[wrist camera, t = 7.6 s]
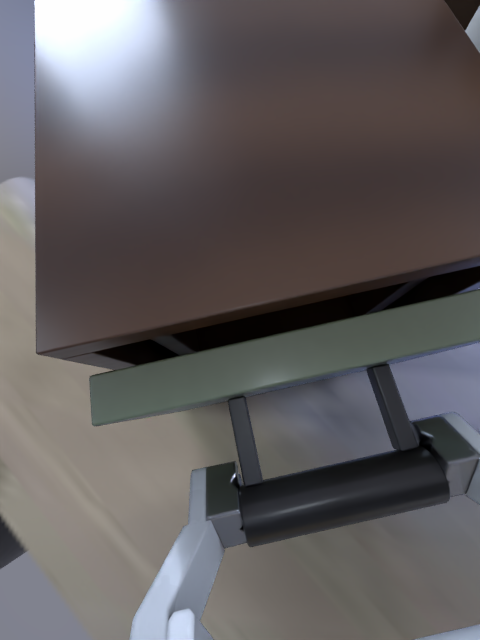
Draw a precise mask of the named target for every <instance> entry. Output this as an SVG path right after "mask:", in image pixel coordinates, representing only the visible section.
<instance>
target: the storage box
mask: <svg viewBox="0 0 480 640" xmlns="http://www.w3.org/2000/svg"><path fill="white" fill-rule="evenodd" d="M34 41H35V42H34V43H35V44H34V47H35V48H34V50H35V52H34V56H35V252H36V353H37V354H38V355H43V356H48V357H53V358H58V359H62V360H67V361H72V362H77V363H82V364H87V365H92V366H97V367H102V368H107V369H112V370H118V369H123V368H127V367H131V366H136V365H140V364H145V363H149V362H154V361H158V360H163V359H167V358H172V357H176V356H180V355H178V354H176V353H174V352H173V351H171V350H169V349H167V348H165V347H164V346H162V345H160V344H158V343H156V342H155V341H153V340H151V339H153V338H158V337H162V336H167V335H171V334H176V333H180V332H184V331H189V330H193V329H198V328H202V327H207V326H211V325H216V324H220V323H225V322H229V321H234V320H238V319H243V318H247V317H252V316H256V315H261V314H265V313H270V312H274V311H279V310H283V309H288V308H292V307H297V306H301V305H306V304H310V303H315V302H319V301H324V300H328V299H333V298H337V297H342V296H346V295H351V294H355V293H360V292H364V291H369V290H373V289H378V288H382V287H387V286H391V285H396V284H400V283H405V282H409V281H414V280H418V279H423V278H427V277H429V278H427V279H426V280H424V281H423V282H421V283H420V284H419V285H417V286H416V287H414V288H413V289H411V290H410V291H409V292H407V293H406V294H404V295H403V296H401V297H400V298H399V299H397V300H396V301H394V302H393V303H391V304H390V305H388V306H387V307H386V308H384V309H383V310H387V309H392V308H396V307H401V306H405V305H410V304H414V303H418V302H423V301H427V300H432V299H436V298H441V297H445V296H450V295H454V294H459V293H463V292H468V291H472V290H476V289H478V288H480V53H479V51H478V50H477V48H476V47H475V45H474V44H473V42H472V41H471V39H470V38H469V36H468V35H467V33H466V32H465V30H464V29H463V27H462V26H461V24H460V23H459V21H458V20H457V18H456V17H455V16H454V14H453V13H452V11H451V10H450V8H449V7H448V5H447V4H446V2H445V1H444V0H34ZM383 310H381V311H383Z"/></svg>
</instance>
